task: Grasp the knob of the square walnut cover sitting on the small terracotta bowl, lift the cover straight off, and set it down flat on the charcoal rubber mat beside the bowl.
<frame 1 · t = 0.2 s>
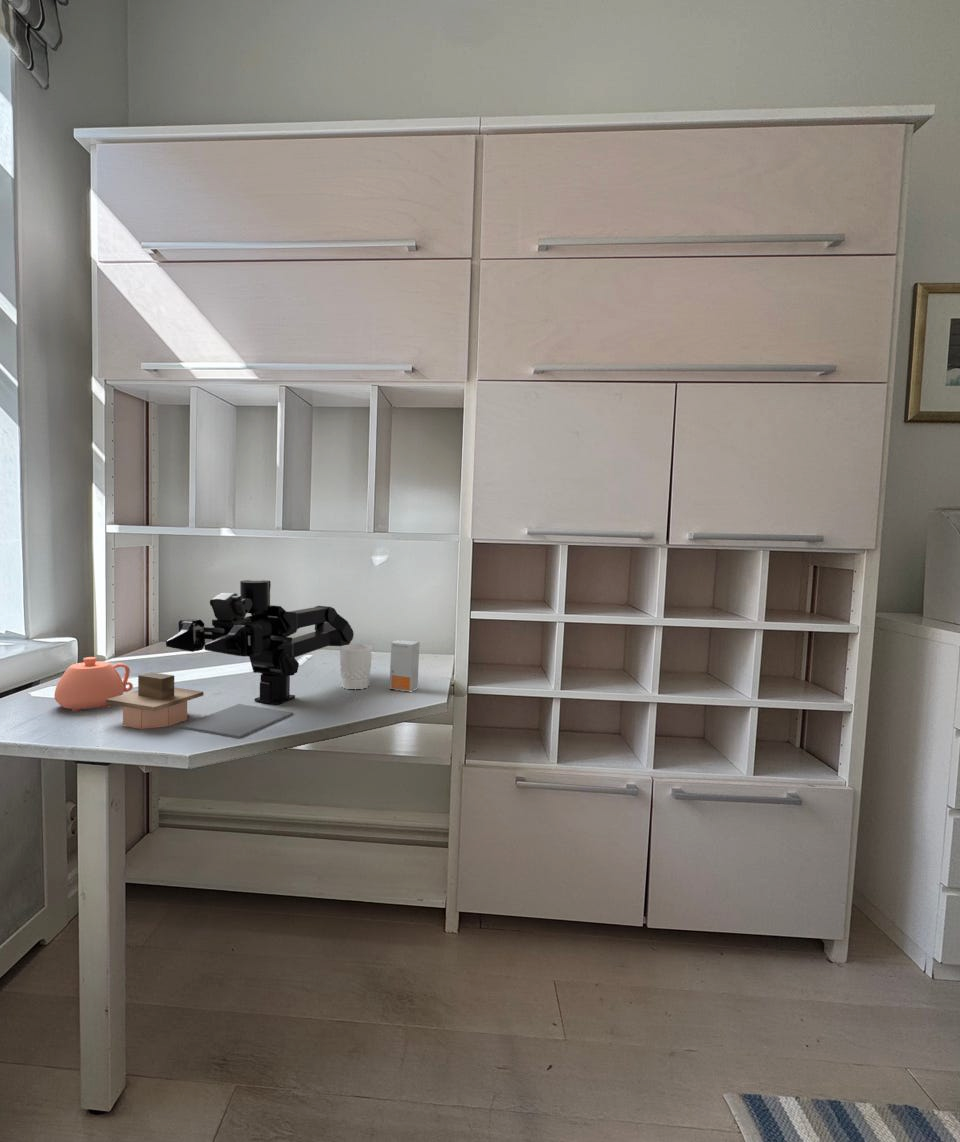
hand: (185, 645, 108), 17 cm above the table, tool horizontal, fingers open, 9 cm apart
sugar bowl: (95, 705, 125), on the table
cover: (156, 699, 117), point 4 cm above the table, touching bowl
mat: (239, 720, 118), on the table
skincare box: (403, 690, 146), on the table
white cup: (355, 687, 147), on the table
bowl: (156, 719, 117), on the table
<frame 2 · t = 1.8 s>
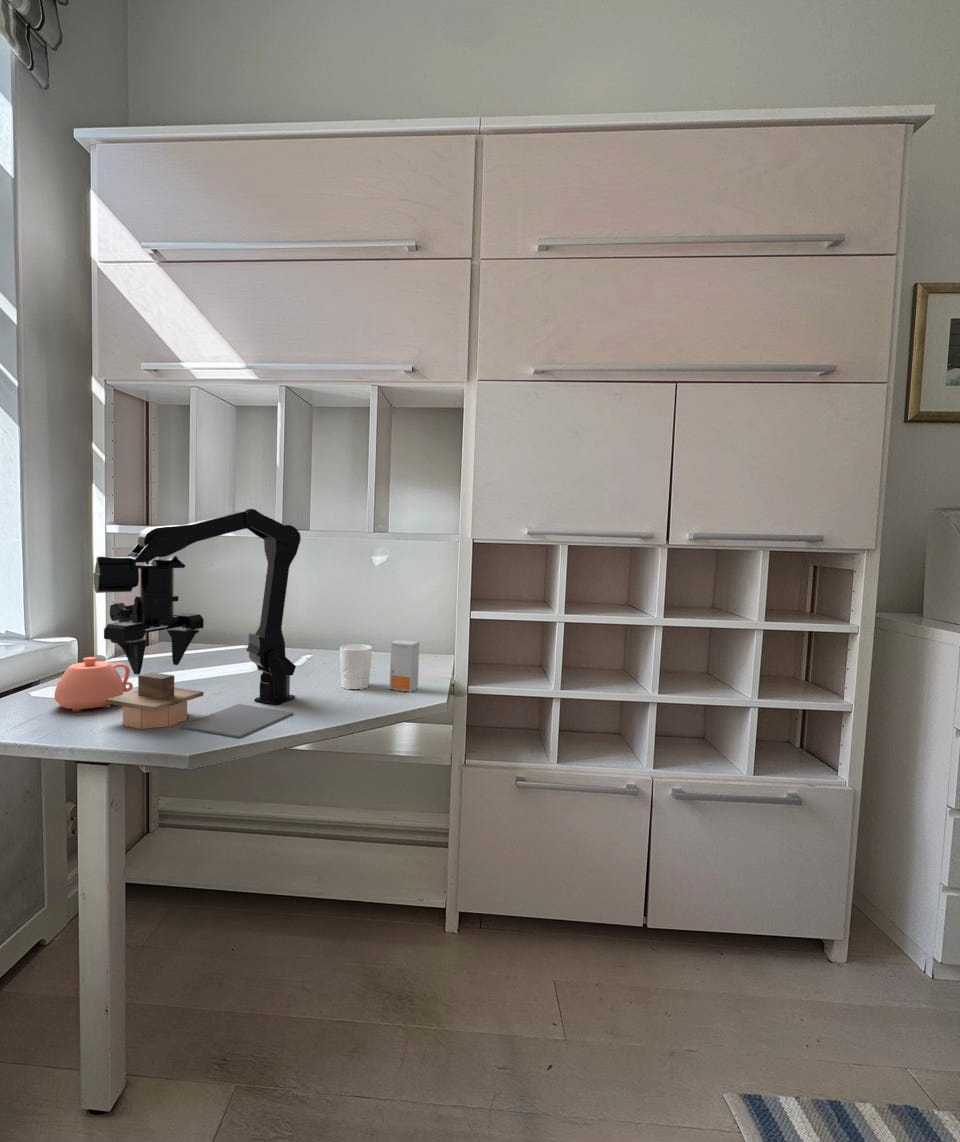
hand: (157, 669, 116), 10 cm above the table, tool pointing down, fingers open, 9 cm apart
nothing on the table moved.
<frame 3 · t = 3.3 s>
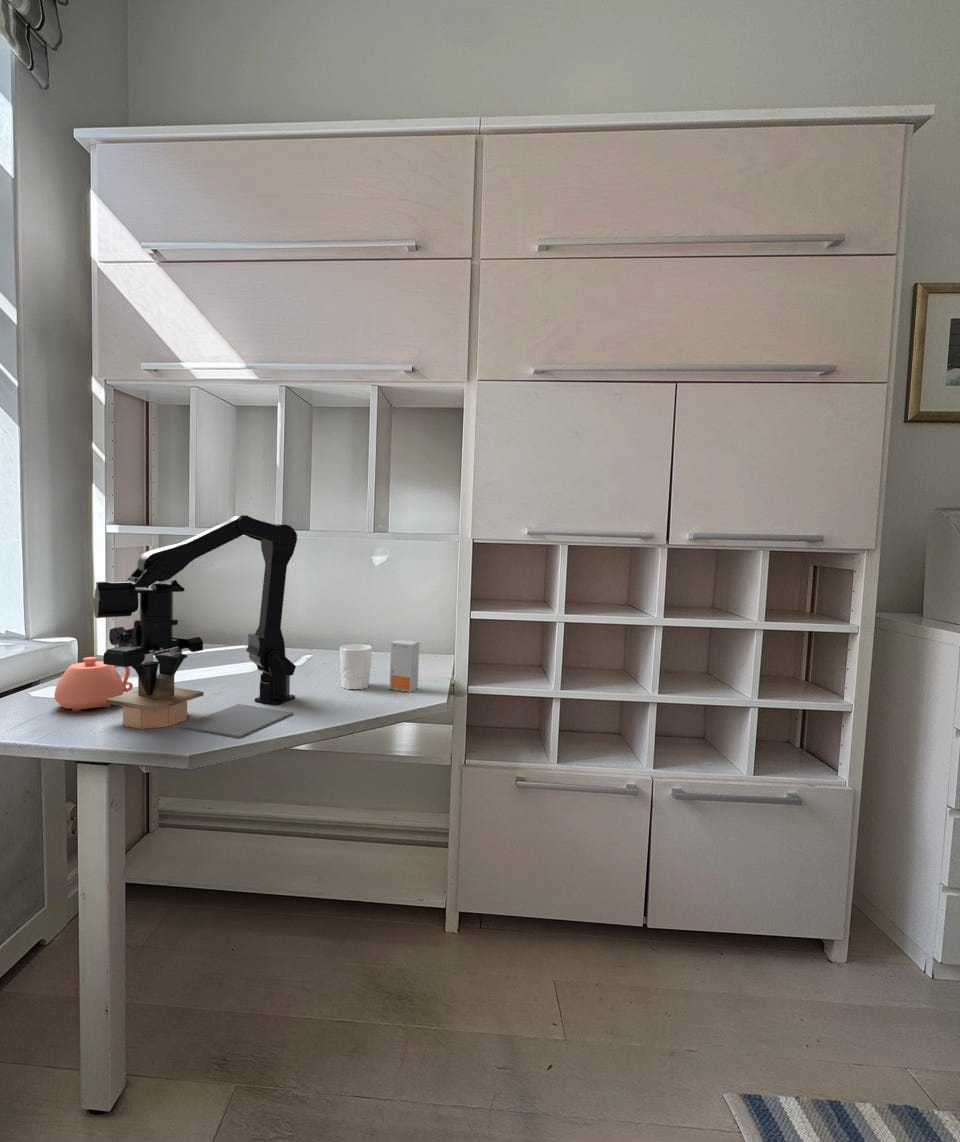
hand: (156, 692, 117), 5 cm above the table, tool pointing down, fingers closed on cover, 3 cm apart
cover: (156, 699, 117), point 4 cm above the table, touching bowl, gripper
everything else where it was.
when the fingers open (3 cm above the table, at t = 7.4 s): cover drops 1 cm, resting on mat.
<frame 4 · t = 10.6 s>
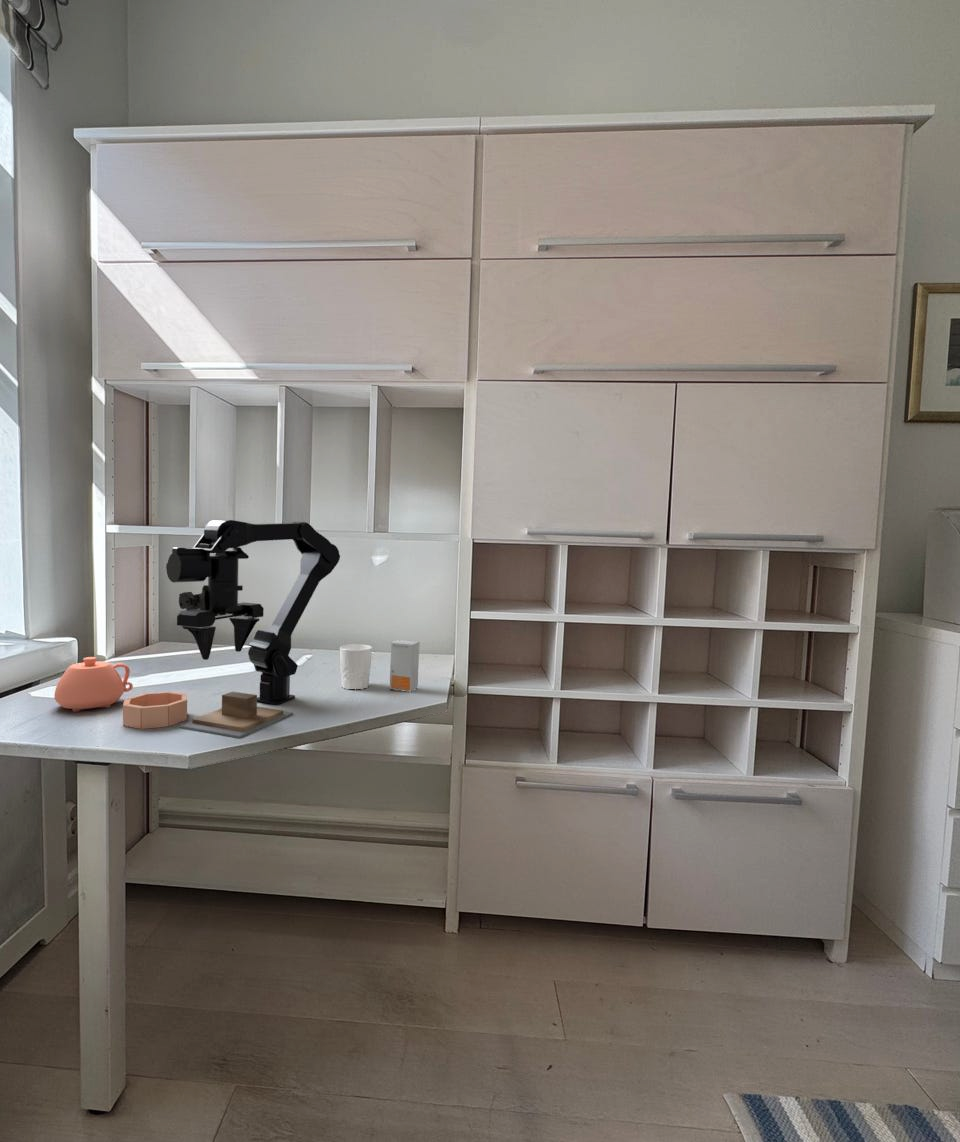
hand: (222, 655, 122), 12 cm above the table, tool pointing down, fingers open, 9 cm apart
cover: (239, 718, 118), resting on mat
everything else where it was.
at the end: cover inside the target area (0.1 cm from its centre), resting on mat; cover touching mat; the gripper is holding nothing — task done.
